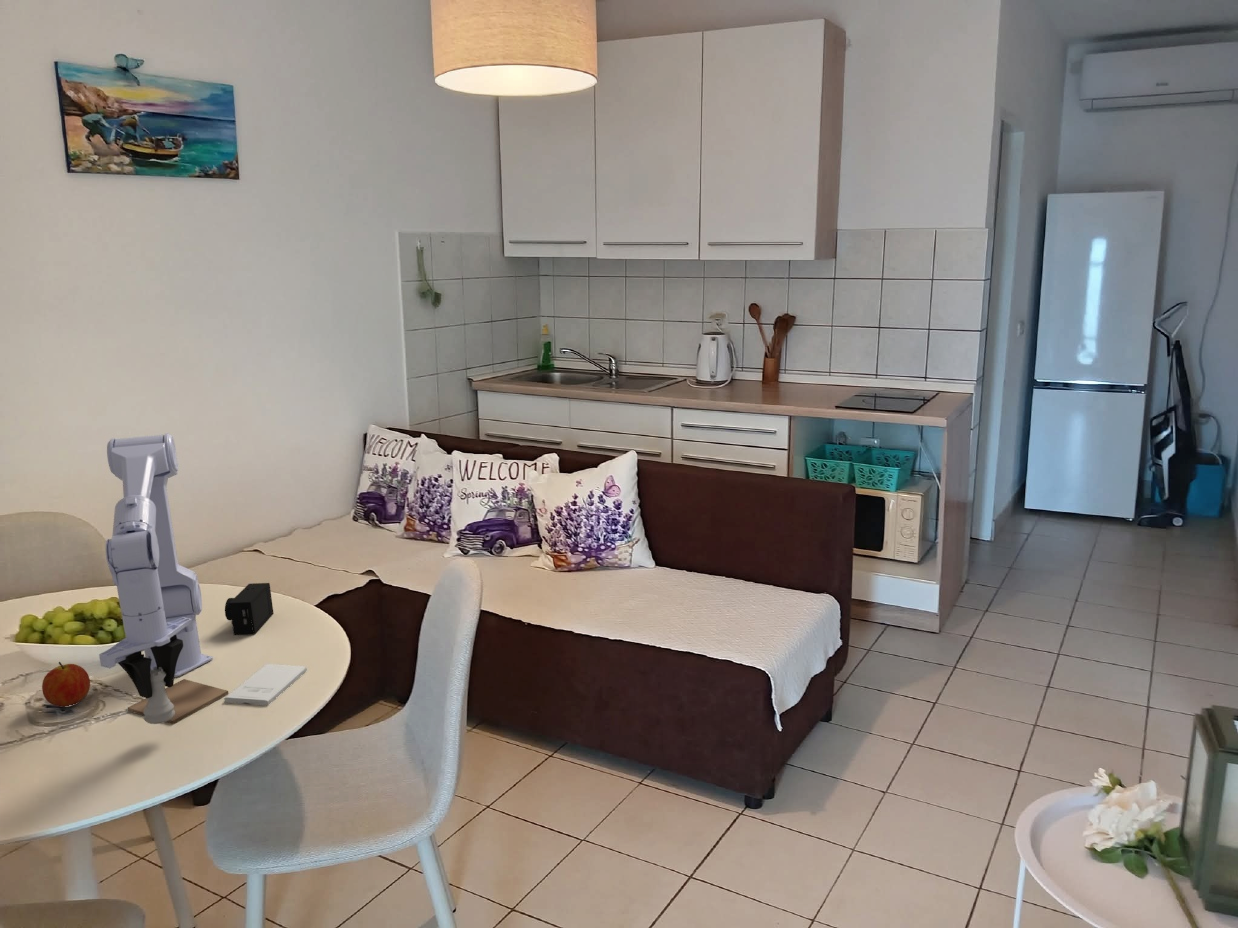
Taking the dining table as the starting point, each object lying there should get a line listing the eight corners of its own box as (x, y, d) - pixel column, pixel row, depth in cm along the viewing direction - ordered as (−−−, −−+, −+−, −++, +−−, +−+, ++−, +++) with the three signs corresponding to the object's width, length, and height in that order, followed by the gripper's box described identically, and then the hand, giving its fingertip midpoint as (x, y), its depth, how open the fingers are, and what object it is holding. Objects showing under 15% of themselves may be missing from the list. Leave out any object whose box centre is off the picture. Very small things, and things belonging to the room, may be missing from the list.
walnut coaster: (128, 710, 156) (127, 707, 156) (184, 681, 166) (183, 678, 165) (173, 724, 151) (172, 720, 151) (228, 693, 161) (228, 690, 160)
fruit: (89, 690, 164) (81, 648, 162) (97, 704, 159) (88, 661, 157) (43, 703, 160) (34, 660, 158) (49, 719, 154) (40, 674, 152)
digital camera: (247, 614, 195) (243, 583, 193) (273, 613, 195) (269, 582, 193) (227, 635, 185) (222, 602, 183) (255, 634, 184) (250, 601, 183)
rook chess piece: (150, 711, 148) (144, 664, 146) (179, 709, 148) (174, 663, 147) (139, 725, 144) (132, 677, 142) (169, 723, 144) (163, 675, 142)
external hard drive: (307, 674, 168) (268, 708, 156) (266, 671, 170) (224, 705, 158) (306, 666, 168) (267, 699, 156) (264, 663, 169) (223, 696, 158)
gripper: (116, 631, 134) (131, 717, 137) (201, 595, 146) (213, 675, 150) (84, 623, 137) (100, 708, 140) (170, 589, 149) (183, 667, 153)
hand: (156, 690), depth 145 cm, fingers closed on rook chess piece, 3 cm apart
